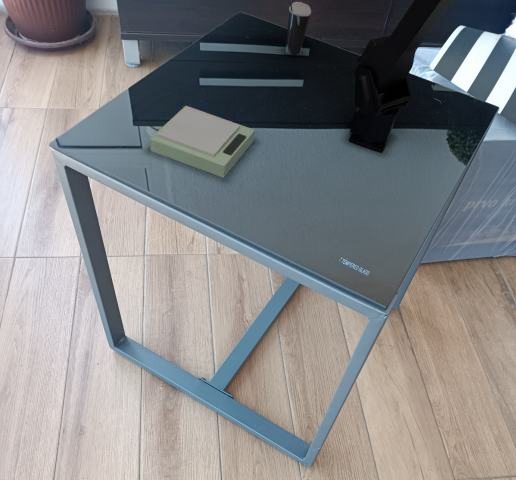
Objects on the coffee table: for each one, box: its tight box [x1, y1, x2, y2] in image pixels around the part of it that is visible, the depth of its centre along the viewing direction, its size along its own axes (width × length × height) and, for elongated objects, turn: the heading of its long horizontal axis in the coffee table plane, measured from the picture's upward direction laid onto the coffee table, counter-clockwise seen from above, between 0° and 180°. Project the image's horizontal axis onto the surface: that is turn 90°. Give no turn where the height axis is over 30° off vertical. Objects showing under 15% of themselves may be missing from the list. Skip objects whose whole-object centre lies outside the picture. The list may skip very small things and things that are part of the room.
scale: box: [149, 105, 256, 179], centre depth 81 cm, size 13×12×3 cm
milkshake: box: [285, 0, 312, 57], centre depth 102 cm, size 4×5×10 cm
